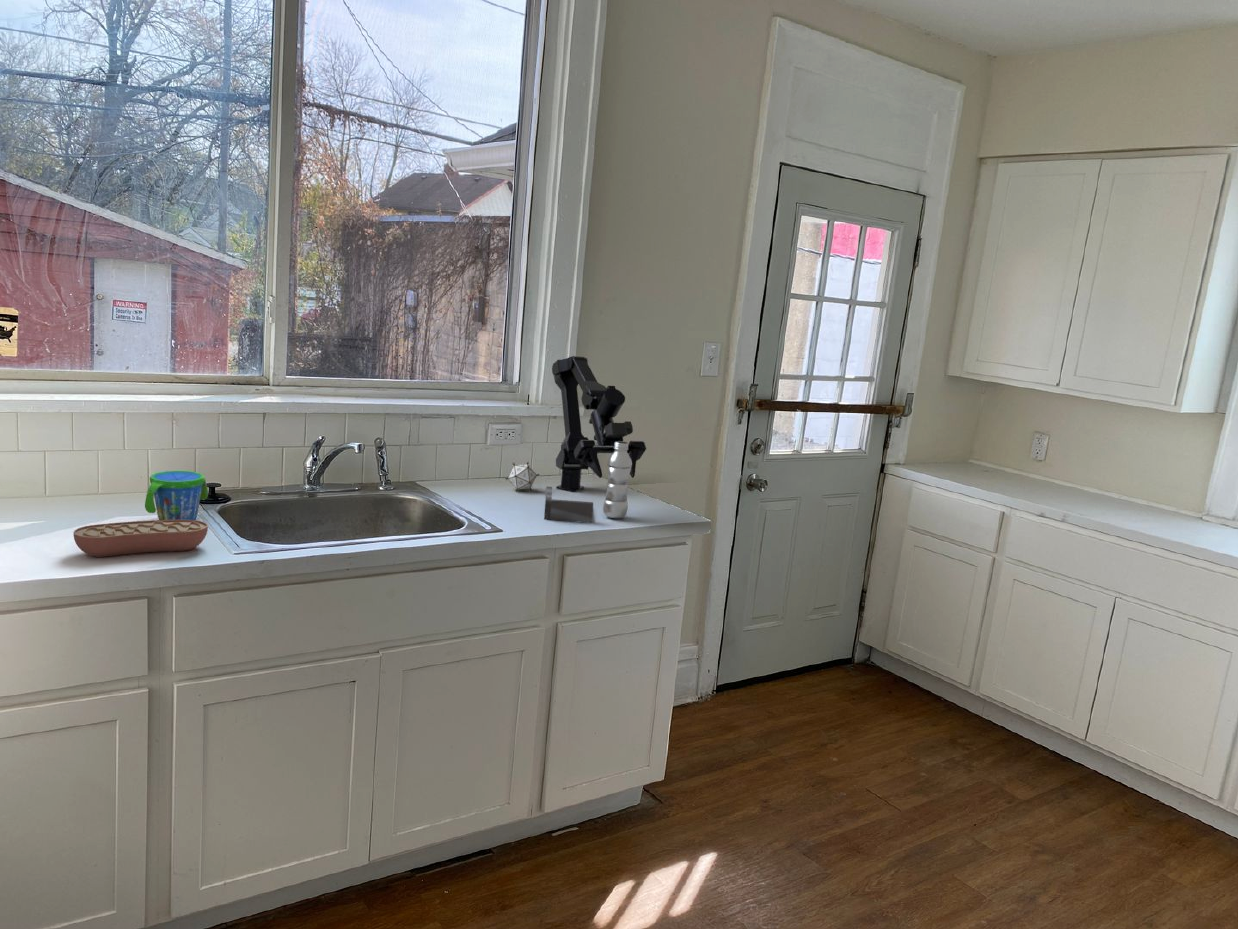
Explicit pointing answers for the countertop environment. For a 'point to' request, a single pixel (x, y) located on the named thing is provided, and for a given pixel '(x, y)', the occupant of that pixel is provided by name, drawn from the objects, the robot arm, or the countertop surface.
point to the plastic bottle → (617, 481)
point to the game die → (522, 476)
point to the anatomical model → (140, 537)
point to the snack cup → (176, 494)
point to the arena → (567, 509)
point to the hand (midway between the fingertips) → (617, 476)
